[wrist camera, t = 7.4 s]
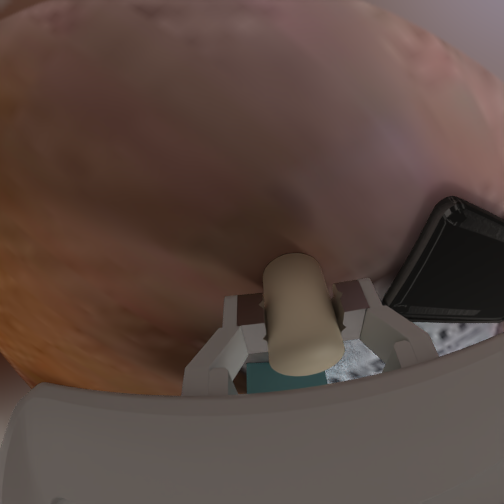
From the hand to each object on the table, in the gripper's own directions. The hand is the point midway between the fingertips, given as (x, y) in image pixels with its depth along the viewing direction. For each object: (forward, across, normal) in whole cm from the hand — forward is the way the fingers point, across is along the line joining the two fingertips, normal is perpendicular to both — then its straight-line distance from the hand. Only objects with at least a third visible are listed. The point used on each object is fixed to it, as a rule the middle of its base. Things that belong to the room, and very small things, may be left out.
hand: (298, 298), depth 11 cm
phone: (+3, -13, +3) cm, 14 cm away
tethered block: (+2, +1, +6) cm, 6 cm away
